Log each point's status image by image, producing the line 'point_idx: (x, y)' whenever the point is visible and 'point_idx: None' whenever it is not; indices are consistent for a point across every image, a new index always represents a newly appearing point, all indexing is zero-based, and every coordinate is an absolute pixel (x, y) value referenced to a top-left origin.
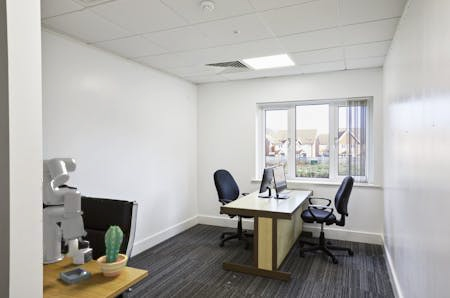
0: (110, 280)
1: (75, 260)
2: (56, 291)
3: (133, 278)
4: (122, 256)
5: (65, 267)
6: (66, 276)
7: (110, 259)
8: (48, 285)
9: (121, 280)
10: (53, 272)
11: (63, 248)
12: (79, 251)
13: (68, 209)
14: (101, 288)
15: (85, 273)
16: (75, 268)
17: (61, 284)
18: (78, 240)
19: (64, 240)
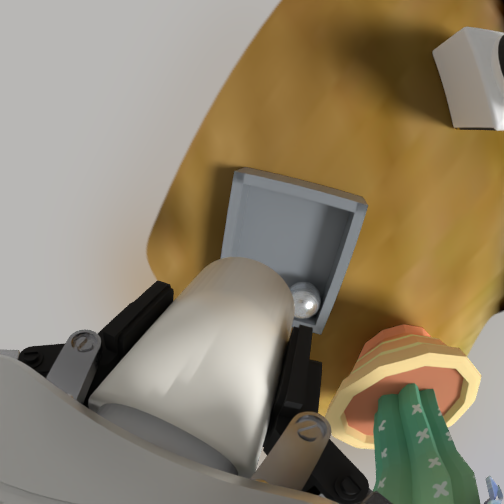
0: (338, 384)
1: (445, 59)
2: (167, 273)
3: None
4: (453, 411)
5: (374, 43)
6: (225, 252)
7: (374, 430)
8: (174, 186)
9: None
10: (286, 44)
11: (119, 314)
12: (492, 71)
13: None
14: None
15: (300, 318)
16: (336, 198)
17: (212, 234)
18: (268, 451)
19: (66, 379)
